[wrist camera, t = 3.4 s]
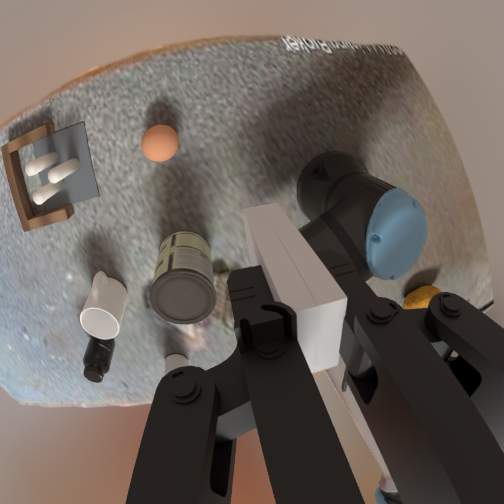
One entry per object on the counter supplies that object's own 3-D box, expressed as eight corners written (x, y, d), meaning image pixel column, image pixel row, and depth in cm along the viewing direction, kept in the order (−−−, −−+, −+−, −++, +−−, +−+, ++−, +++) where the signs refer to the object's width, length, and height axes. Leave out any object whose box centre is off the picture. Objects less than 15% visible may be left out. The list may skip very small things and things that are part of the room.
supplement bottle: (113, 332, 59) (104, 370, 49) (116, 350, 62) (109, 387, 52) (88, 328, 57) (76, 365, 47) (92, 346, 60) (83, 382, 50)
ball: (177, 120, 41) (174, 121, 35) (182, 154, 44) (180, 160, 38) (142, 128, 40) (134, 130, 35) (148, 161, 43) (141, 168, 38)
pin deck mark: (84, 122, 37) (83, 122, 37) (99, 195, 44) (99, 196, 44) (33, 142, 35) (32, 142, 35) (49, 209, 42) (49, 210, 42)
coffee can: (206, 280, 56) (210, 328, 44) (156, 272, 54) (148, 320, 41) (216, 235, 52) (223, 277, 40) (162, 226, 49) (151, 266, 37)
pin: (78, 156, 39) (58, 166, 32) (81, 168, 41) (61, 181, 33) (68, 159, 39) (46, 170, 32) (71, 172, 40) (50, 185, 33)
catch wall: (53, 123, 35) (45, 124, 32) (74, 213, 44) (68, 219, 41) (9, 144, 34) (0, 147, 31) (30, 225, 43) (24, 232, 40)
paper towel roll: (167, 351, 65) (166, 425, 46) (190, 355, 67) (194, 428, 48) (162, 367, 68) (161, 436, 49) (184, 371, 70) (187, 439, 51)
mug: (87, 259, 49) (70, 289, 40) (123, 260, 51) (111, 291, 42) (97, 305, 55) (85, 337, 46) (130, 307, 56) (122, 340, 48)
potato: (400, 287, 69) (414, 302, 63) (434, 277, 71) (448, 290, 65) (395, 306, 73) (407, 321, 67) (428, 295, 75) (440, 309, 69)
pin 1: (57, 150, 38) (34, 159, 30) (60, 162, 39) (37, 173, 32) (47, 153, 37) (24, 164, 30) (50, 165, 39) (27, 177, 31)
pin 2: (63, 175, 40) (41, 188, 33) (66, 187, 41) (45, 202, 34) (53, 178, 40) (31, 192, 33) (56, 190, 41) (35, 206, 34)
